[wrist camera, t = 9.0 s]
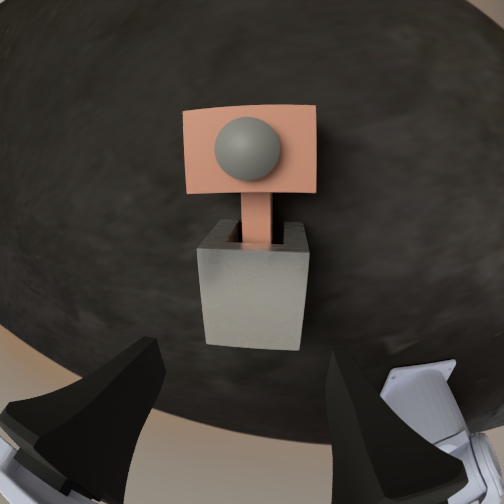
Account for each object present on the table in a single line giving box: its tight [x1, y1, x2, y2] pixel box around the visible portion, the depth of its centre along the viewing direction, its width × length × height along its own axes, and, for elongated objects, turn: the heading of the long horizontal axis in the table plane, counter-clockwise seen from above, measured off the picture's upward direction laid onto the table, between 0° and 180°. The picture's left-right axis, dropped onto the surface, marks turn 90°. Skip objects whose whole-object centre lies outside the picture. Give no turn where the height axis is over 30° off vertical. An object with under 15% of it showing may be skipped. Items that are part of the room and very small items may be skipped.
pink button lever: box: [183, 105, 316, 244], centre depth 16 cm, size 14×6×6 cm, turn 1°
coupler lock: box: [197, 220, 310, 350], centre depth 17 cm, size 6×5×5 cm
